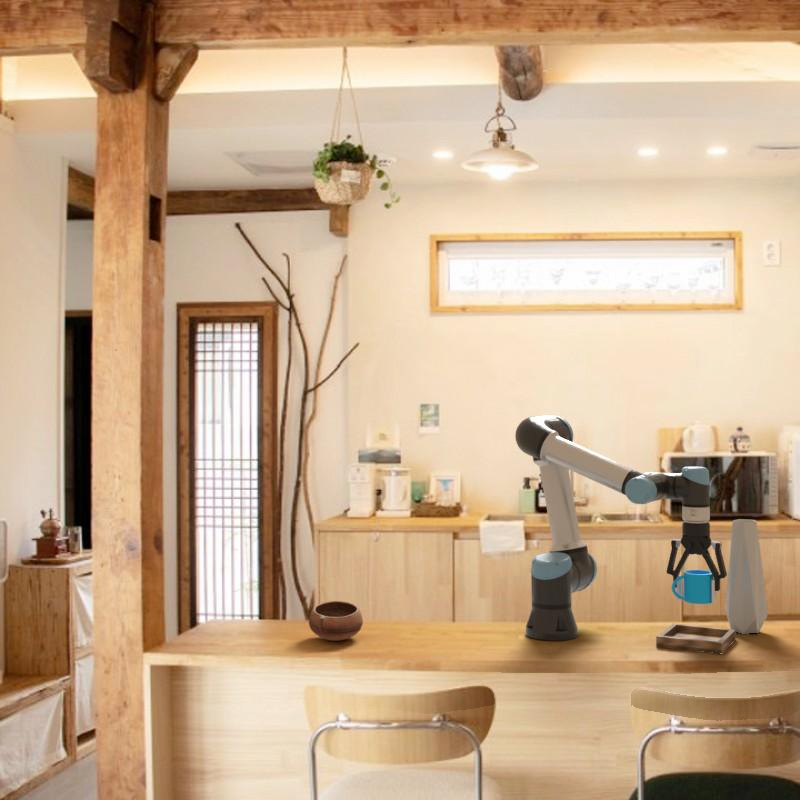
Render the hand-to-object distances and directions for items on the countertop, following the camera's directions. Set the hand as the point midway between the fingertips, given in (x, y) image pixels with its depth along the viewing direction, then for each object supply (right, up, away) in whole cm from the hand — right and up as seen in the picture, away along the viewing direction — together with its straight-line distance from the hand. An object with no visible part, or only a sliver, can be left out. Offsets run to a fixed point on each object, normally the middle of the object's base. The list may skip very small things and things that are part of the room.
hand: (696, 600), depth 300 cm
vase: (+19, -12, +14) cm, 26 cm away
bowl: (-103, -13, +9) cm, 104 cm away
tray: (0, -12, 0) cm, 12 cm away
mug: (-1, 0, 0) cm, 1 cm away
